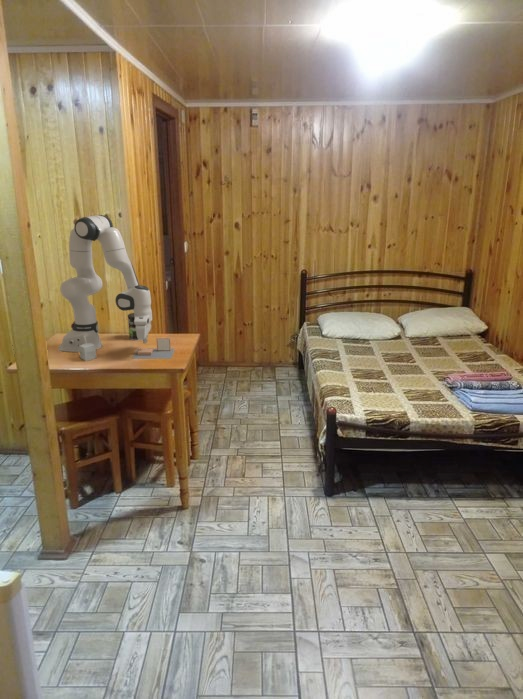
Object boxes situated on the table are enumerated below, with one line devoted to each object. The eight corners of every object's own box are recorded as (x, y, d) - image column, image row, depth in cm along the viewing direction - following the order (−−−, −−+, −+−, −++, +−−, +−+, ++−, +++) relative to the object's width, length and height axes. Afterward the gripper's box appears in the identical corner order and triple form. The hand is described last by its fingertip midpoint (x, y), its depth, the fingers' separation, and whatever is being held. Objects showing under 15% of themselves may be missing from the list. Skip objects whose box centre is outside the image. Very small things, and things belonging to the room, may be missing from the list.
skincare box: (96, 358, 252) (95, 344, 250) (85, 361, 248) (83, 347, 246) (91, 355, 256) (89, 342, 254) (80, 358, 252) (78, 344, 250)
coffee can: (133, 342, 278) (131, 318, 274) (126, 337, 286) (124, 314, 281) (150, 339, 284) (149, 315, 279) (143, 334, 292) (141, 311, 287)
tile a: (140, 351, 263) (137, 355, 256) (140, 348, 262) (137, 352, 255) (153, 350, 263) (151, 355, 256) (153, 347, 262) (151, 352, 256)
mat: (131, 359, 251) (131, 358, 251) (137, 349, 266) (137, 348, 266) (171, 359, 252) (171, 358, 252) (175, 349, 267) (175, 348, 267)
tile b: (157, 351, 263) (156, 338, 261) (157, 350, 264) (157, 337, 262) (170, 351, 263) (169, 338, 261) (170, 349, 265) (170, 337, 263)
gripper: (141, 312, 263) (142, 336, 268) (133, 322, 244) (135, 348, 248) (152, 312, 263) (154, 336, 268) (146, 322, 244) (147, 348, 249)
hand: (145, 342), depth 258 cm, fingers closed
